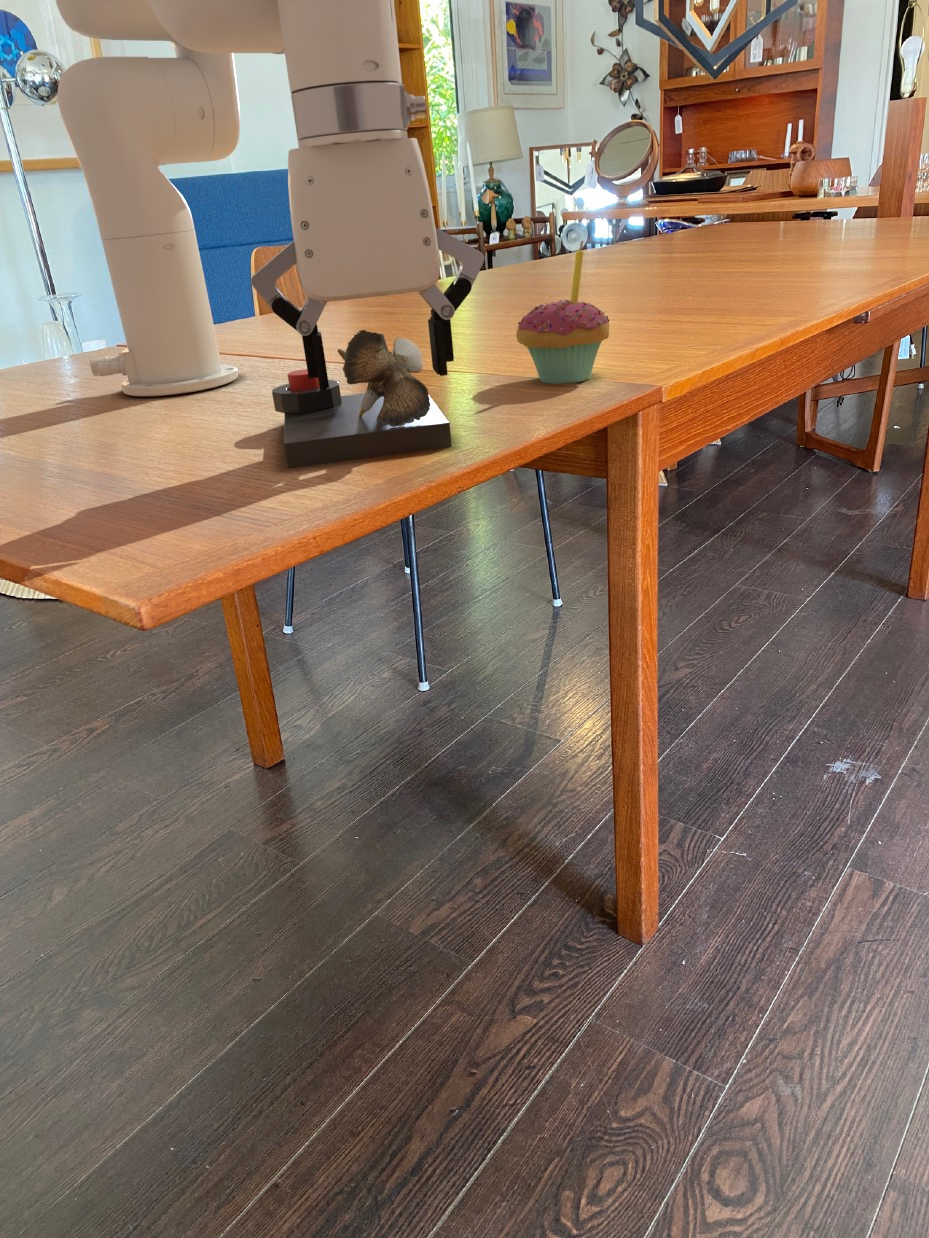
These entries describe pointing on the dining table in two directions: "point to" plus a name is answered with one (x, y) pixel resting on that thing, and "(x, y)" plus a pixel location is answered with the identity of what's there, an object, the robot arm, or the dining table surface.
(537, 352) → the cupcake
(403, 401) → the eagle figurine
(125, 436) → the dining table surface
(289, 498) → the dining table surface
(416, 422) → the dark grey flat block
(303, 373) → the button
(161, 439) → the dining table surface
